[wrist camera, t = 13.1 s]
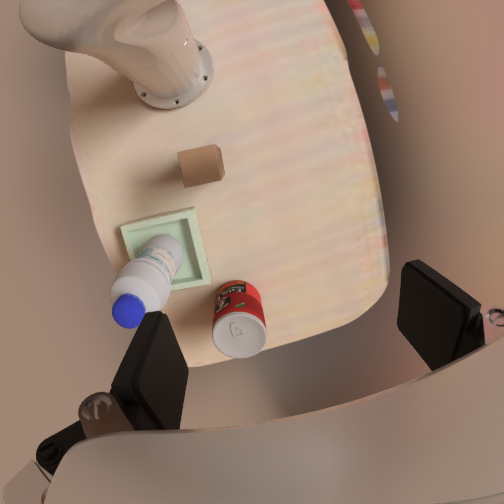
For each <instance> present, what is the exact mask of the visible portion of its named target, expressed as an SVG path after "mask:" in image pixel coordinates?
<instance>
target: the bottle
mask: <svg viewBox="0 0 504 504" xmlns="http://www.w3.org/2000/svg"><path fill="white" fill-rule="evenodd" d="M183 260H184V252H183V248H182V244H181V242H180V241H179V240H176V239H175V238H173V237H172V236H171V235H169V234H164V235H158V236H155V237H153V238H152V239H151V240H150V241H149V242H148V243H147V244H146V245H145V247H144V248H143V250H142V251H141V252H140V253H139V255H138V256H137V257H136V258H135V259H134V260H132V261H130V262H128V263H127V264H126V265H125V266H124V267H122V268H121V270H120V271H119V273H118V275H117V277H116V279H115V281H114V283H113V285H112V287H111V290H110V300H111V303H112V306H113V308H112V315H113V318H114V320H115V321H116V322H117V323H118V324H119V325H120V326H122V327H124V328H128V329H129V328H130V329H131V328H135V327H137V326H138V325H140V323H141V321H142V319H143V317H144V315H145V313H146V312H153V311H161V309H162V308H163V307H164V306H165V305H166V303H167V301H168V298H169V295H170V291H171V284H172V281H173V279H174V277H175V275H176V273H177V272H178V270H179V269H180V267H181V265H182V263H183Z"/></svg>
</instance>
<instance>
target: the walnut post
mask: <svg viewBox="0 0 504 504" xmlns="http://www.w3.org/2000/svg"><path fill="white" fill-rule="evenodd" d="M178 158H179V163H180V168H181V173H182V177H183V182H184V187H185V188H187V187H191V186H196V185H201V184H205V183H210V182H215V181H220V180H221V179H222V178H223V176H224V175H225V171H224V166H223V160H222V155H221V150H220V148H219V147H217V146H216V145H214V144H213V145H208V146H203V147H199V148H194V149H190V150H186V151H182V152H178Z"/></svg>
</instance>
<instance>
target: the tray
mask: <svg viewBox="0 0 504 504" xmlns="http://www.w3.org/2000/svg"><path fill="white" fill-rule="evenodd" d="M120 228H121V232H122V235H123V239H124V242H125V245H126V249H127V252H128V255H129V258H130V261H132V260H134V259H135V258H136V257H137V256H138V255H139V253H140V252H141V251H142V250H143V248H144V247H145V245H146V244H147V243H148V242H149V241H150V240H151V239H152V238H153V237H155V236H158V235H164V234H169V235H171V236H172V237H173V238H175V239H176V240H179V241H180V242H181V244H182V248H183V252H184V260H183V263H182V265H181V267H180V269H179V270H178V272H177V273H176V275H175V277H174V279H173V281H172V284H171V291H172V290H178V289H184V288H190V287H196V286H202V285H208V284H211V279H212V276H211V272H210V268H209V264H208V260H207V256H206V252H205V248H204V244H203V240H202V235H201V231H200V227H199V223H198V218H197V214H196V209H195V207H192V208H187V209H182V210H178V211H174V212H169V213H165V214H160V215H156V216H152V217H148V218H144V219H140V220H136V221H132V222H128V223H125V224H124V225H122V226H121V227H120Z"/></svg>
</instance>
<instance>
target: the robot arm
mask: <svg viewBox="0 0 504 504" xmlns="http://www.w3.org/2000/svg"><path fill="white" fill-rule="evenodd" d="M19 17H20V20H21V23H22V25H23V27H24V28H25V30H26V31H27V32H28V33H29V34H30V35H31V36H32V37H33V38H35V39H36V40H38V41H39V42H41V43H43V44H46V45H48V46H50V47H53V48H56V49H60V50H64V51H69V52H75V53H81V54H86V55H89V56H92V57H94V58H97V59H99V60H100V61H102V62H104V63H105V64H107V65H109V66H110V67H112V68H113V69H115V70H116V71H118V72H119V73H121V74H122V75H124V76H125V77H127V78H128V79H130V80H131V81H133V85H134V89H135V91H136V93H137V95H138V96H139V97H140V98H141V100H143V101H144V102H145V103H147V104H149V105H150V106H153V107H156V108H161V109H174V108H179V107H182V106H184V105H187V104H189V103H191V102H192V101H194V100H195V99H197V98H198V97H199V96H200V95H201V94H202V93H203V92H204V91H205V90H206V88H207V87H208V85H209V83H210V81H211V79H212V76H213V69H214V68H213V60H212V57H211V54H210V52H209V51H208V49H207V48H206V47H205V46H204V45H203V44H202V43H201V42H199V41H197V40H195V39H194V38H193V35H192V32H191V29H190V27H189V24H188V21H187V19H186V16H185V13H184V10H183V8H182V7H181V5H180V4H179V3H178V2H177V1H176V0H20V4H19ZM199 49H202V50H199ZM205 78H207V80H206V81H205V80H204V79H205ZM145 94H146V96H145V97H144V95H145ZM177 101H178V102H179V103H178V104H176V102H177ZM480 308H481V304H480V303H479V302H478V301H476V300H475V299H474V298H472V297H471V296H470V295H468V294H467V293H466V292H464V291H463V290H462V289H460V288H459V287H458V286H456V285H455V284H454V283H452V282H451V281H449V280H448V279H447V278H445V277H444V276H442V275H441V274H440V273H438V272H437V271H435V270H434V269H432V268H431V267H429V266H428V265H426V264H425V263H424V262H422V261H420V260H413V261H409V262H406V263H405V265H404V267H403V268H402V272H401V288H400V299H399V309H398V317H397V325H398V328H399V330H400V331H401V333H402V334H403V335H404V336H405V338H406V339H407V340H408V341H409V342H410V344H411V345H412V346H413V347H414V349H415V350H416V351H417V352H418V354H419V355H420V356H421V357H422V359H423V360H424V361H425V363H426V364H427V365H428V366H429V368H430V369H431V370H432V372H430V373H428V374H425V375H423V376H421V377H418V378H416V379H414V380H412V381H409V382H406V383H404V384H401V385H399V386H396V387H393V388H391V389H388V390H385V391H383V392H380V393H377V394H374V395H371V396H368V397H365V398H362V399H358V400H355V401H352V402H349V403H345V404H342V405H338V406H335V407H331V408H327V409H323V410H319V411H315V412H310V413H306V414H301V415H297V416H292V417H287V418H281V419H276V420H270V421H264V422H257V423H250V424H242V425H234V426H224V427H212V428H199V429H180V422H181V415H182V409H183V403H184V397H185V390H186V385H187V379H188V366H187V363H186V361H185V359H184V356H183V354H182V352H181V349H180V347H179V344H178V342H177V339H176V337H175V334H174V332H173V329H172V327H171V324H170V321H169V319H168V316H167V315H166V314H163V313H162V312H161V311H153V312H146V313H145V315H144V317H143V319H142V321H141V323H140V325H139V327H138V329H137V331H136V333H135V335H134V337H133V339H132V341H131V343H130V346H129V347H128V349H127V351H126V354H125V356H124V358H123V360H122V362H121V364H120V366H119V369H118V371H117V373H116V375H115V378H114V380H113V382H112V384H111V386H112V388H111V390H110V392H109V393H108V392H97V393H94V394H91V395H90V396H88V397H87V398H85V399H84V401H82V403H81V405H80V406H79V410H78V415H79V419H80V420H79V421H77V422H75V423H74V424H72V425H70V426H68V427H67V428H65V429H63V430H61V431H60V432H58V433H56V434H55V435H52V436H51V437H49V438H47V439H45V440H44V441H43V442H42V443H41V444H40V445H39V446H38V449H37V452H36V460H37V461H36V462H34V461H33V460H31V461H30V462H29V463H28V464H27V465H26V466H25V467H24V468H23V469H22V470H21V471H19V473H17V474H16V475H15V476H14V477H13V478H12V479H11V480H10V481H9V482H8V483H7V484H6V485H5V487H4V490H3V499H4V501H5V503H6V504H504V308H502V307H498V306H491V307H488V308H486V309H485V310H484V312H483V314H481V313H480ZM179 429H180V430H179Z"/></svg>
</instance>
